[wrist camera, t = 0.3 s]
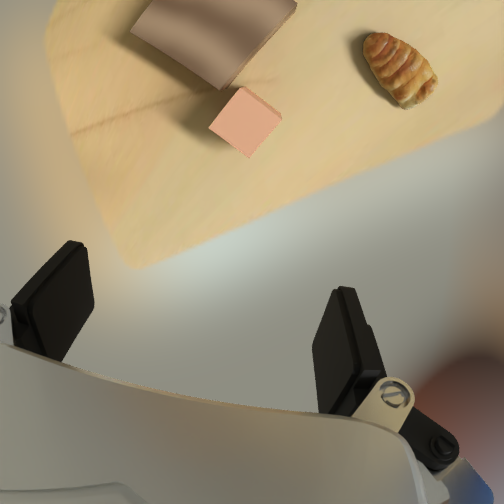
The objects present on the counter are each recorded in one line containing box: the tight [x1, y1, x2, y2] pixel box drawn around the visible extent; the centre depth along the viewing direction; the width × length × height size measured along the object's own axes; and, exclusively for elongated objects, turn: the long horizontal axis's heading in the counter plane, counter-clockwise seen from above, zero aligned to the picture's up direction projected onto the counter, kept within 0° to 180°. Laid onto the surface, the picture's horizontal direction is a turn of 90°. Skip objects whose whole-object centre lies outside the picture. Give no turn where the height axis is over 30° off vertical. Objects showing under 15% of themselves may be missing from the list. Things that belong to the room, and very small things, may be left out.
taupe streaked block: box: [130, 0, 297, 90], centre depth 26 cm, size 12×12×5 cm
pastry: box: [363, 33, 438, 110], centre depth 28 cm, size 9×7×4 cm
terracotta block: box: [209, 87, 282, 158], centre depth 32 cm, size 5×5×6 cm
